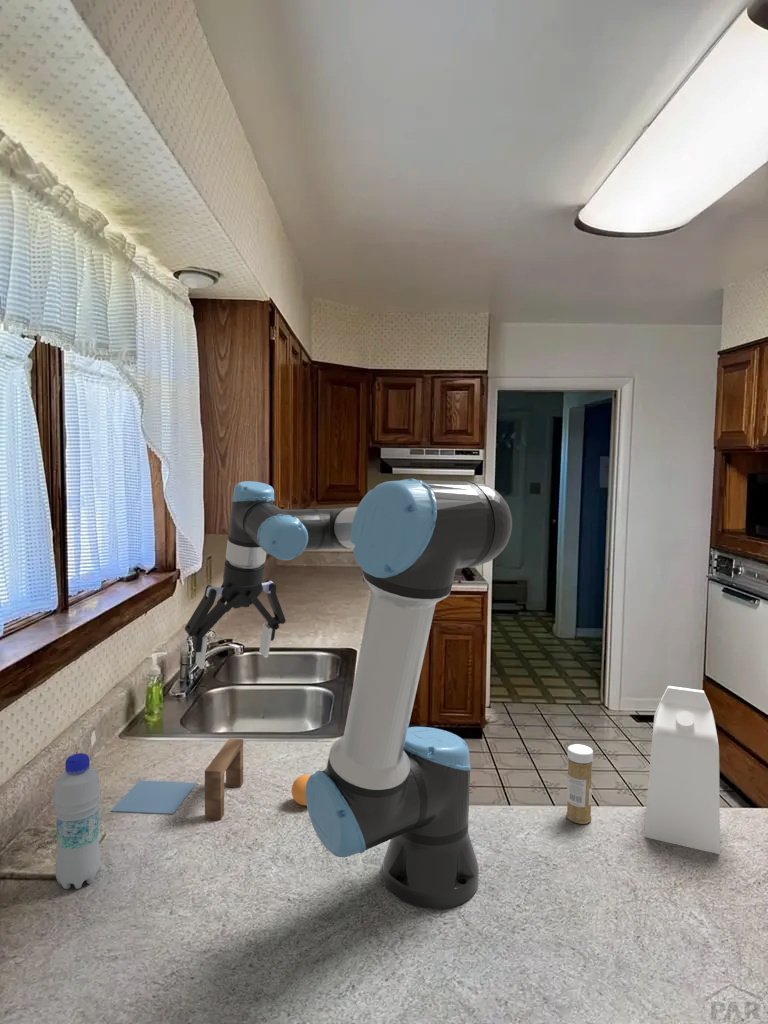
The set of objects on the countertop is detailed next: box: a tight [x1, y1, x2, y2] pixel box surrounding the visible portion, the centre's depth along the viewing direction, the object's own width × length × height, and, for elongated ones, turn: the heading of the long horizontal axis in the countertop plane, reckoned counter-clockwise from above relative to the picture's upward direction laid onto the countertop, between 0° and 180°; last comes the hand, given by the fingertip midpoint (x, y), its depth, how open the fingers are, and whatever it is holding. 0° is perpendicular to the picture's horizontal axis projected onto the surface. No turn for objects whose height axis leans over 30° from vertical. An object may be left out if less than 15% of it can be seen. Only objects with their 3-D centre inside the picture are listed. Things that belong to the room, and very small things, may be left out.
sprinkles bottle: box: [566, 743, 594, 825], centre depth 118 cm, size 5×5×13 cm
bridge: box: [204, 738, 244, 821], centre depth 123 cm, size 3×14×9 cm, turn 176°
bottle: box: [52, 752, 102, 890], centre depth 98 cm, size 7×7×20 cm
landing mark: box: [110, 779, 197, 815], centre depth 124 cm, size 12×12×1 cm
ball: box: [291, 774, 312, 806], centre depth 122 cm, size 6×6×6 cm
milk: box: [643, 685, 721, 855], centre depth 114 cm, size 12×12×26 cm
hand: (232, 659), depth 126 cm, fingers open, 13 cm apart
